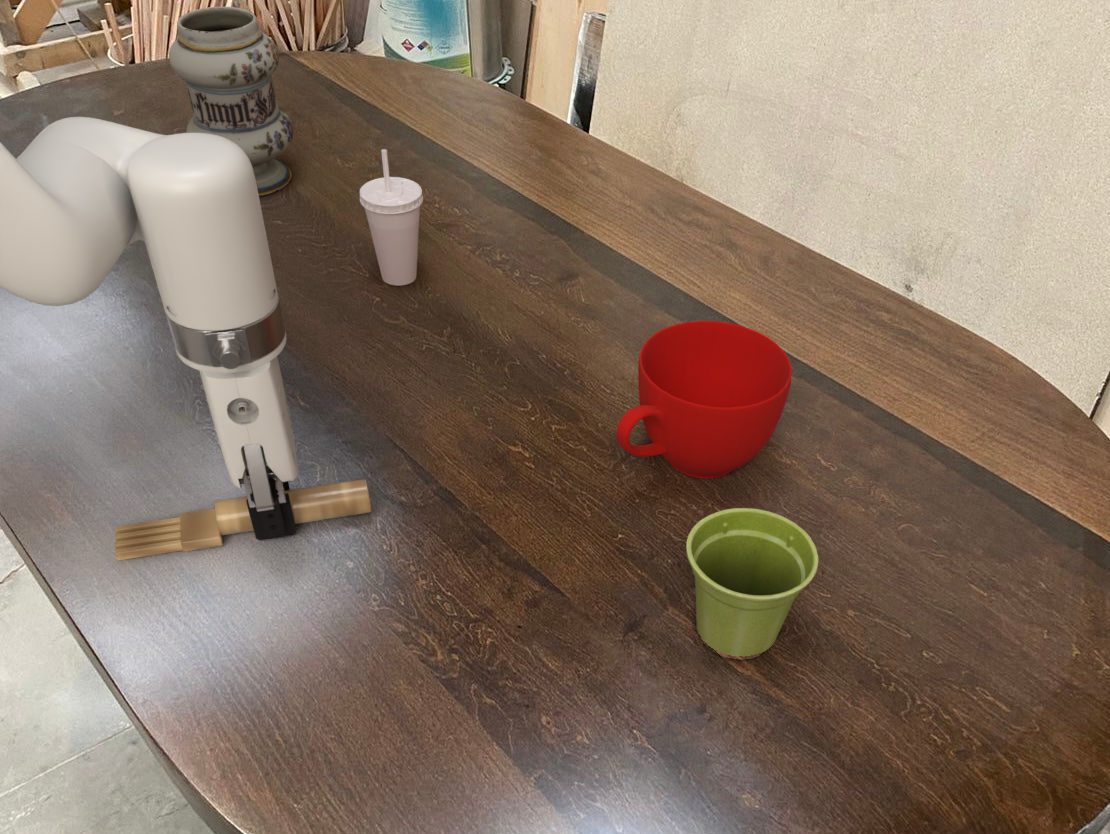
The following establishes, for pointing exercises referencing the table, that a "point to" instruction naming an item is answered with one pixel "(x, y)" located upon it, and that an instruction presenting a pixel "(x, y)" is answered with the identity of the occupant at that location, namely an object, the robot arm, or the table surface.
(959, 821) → the table surface
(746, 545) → the plant pot
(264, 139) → the apothecary jar
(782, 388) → the ceramic cup
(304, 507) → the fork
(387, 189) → the smoothie
